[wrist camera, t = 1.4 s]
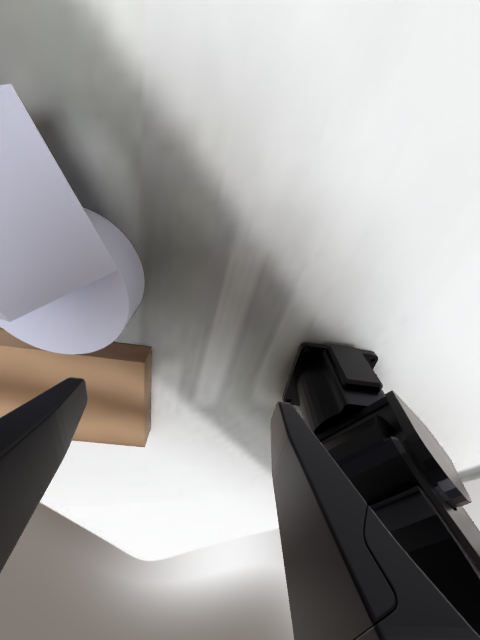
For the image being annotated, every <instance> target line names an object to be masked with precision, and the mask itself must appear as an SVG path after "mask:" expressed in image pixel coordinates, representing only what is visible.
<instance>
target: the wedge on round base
mask: <svg viewBox="0 0 480 640" xmlns="http://www.w3.org/2000/svg"><path fill="white" fill-rule="evenodd" d="M144 288H145V277H144V271H143V267H142V264H141V261H140V259H139V256H138V254H137V252H136V250H135V249H134V247H133V245H132V244H131V243H130V241H129V240H128V239H127V237H126V236H125V235H124V234H123V233H122V232H121V231H120V230H119V229H118V228H117V227H116V226H115V225H113V224H112V223H111V222H110V221H108V220H107V219H105V218H104V217H102V216H101V215H99V214H97V213H95V212H93V211H91V210H89V209H86V208H83V207H82V206H81V204H80V202H79V201H78V199H77V197H76V195H75V194H74V192H73V190H72V188H71V187H70V185H69V183H68V182H67V180H66V178H65V176H64V175H63V173H62V171H61V169H60V168H59V166H58V164H57V163H56V161H55V159H54V157H53V156H52V154H51V152H50V150H49V149H48V147H47V145H46V144H45V142H44V140H43V138H42V137H41V135H40V133H39V131H38V130H37V128H36V126H35V124H34V123H33V121H32V119H31V118H30V116H29V114H28V112H27V111H26V109H25V107H24V105H23V104H22V102H21V100H20V99H19V97H18V95H17V93H16V92H15V90H14V88H13V86H12V85H11V84H6V85H0V326H1V327H2V328H3V329H4V330H6V331H7V332H9V333H10V334H12V335H13V336H15V337H16V338H18V339H20V340H22V341H23V342H25V343H28V344H30V345H32V346H34V347H37V348H40V349H43V350H46V351H50V352H54V353H60V354H72V355H73V354H85V353H91V352H94V351H97V350H100V349H102V348H104V347H106V346H108V345H109V344H111V343H112V342H113V341H114V340H115V339H116V338H117V337H118V336H119V335H120V334H121V332H122V331H123V329H124V328H125V326H126V325H127V323H128V322H129V320H130V319H131V317H132V316H133V314H134V313H135V311H136V310H137V308H138V307H139V305H140V303H141V301H142V297H143V294H144Z"/></svg>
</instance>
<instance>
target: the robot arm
mask: <svg viewBox="0 0 480 640" xmlns="http://www.w3.org/2000/svg"><path fill="white" fill-rule="evenodd" d="M306 348H308V350H306V351H304V349H306ZM371 357H372V358H371ZM370 358H371V359H370ZM377 361H378V357H377V355H376V354H375V353H374V352H369V351H362V350H359V349H354V348H347V347H340V346H333V345H330V346H325V345H318V344H311V343H304V344H302V345H301V346H300V348H299V351H298V353H297V356H296V359H295V362H294V365H293V368H292V371H291V374H290V377H289V380H288V383H287V385H286V388H285V391H284V394H283V401H284V402H278V403H277V404H276V407H275V410H274V413H273V416H272V419H271V455H272V477H273V485H274V493H275V500H276V508H277V515H278V522H279V530H280V537H281V545H282V552H283V559H284V566H285V574H286V581H287V589H288V596H289V604H290V611H291V618H292V625H293V633H294V640H480V531H479V530H478V528H477V527H476V525H475V524H474V522H473V521H472V519H471V518H470V517H469V515H468V514H467V512H466V511H465V509H464V508H463V507H462V506H463V505H466V504H468V503H471V499H470V497H469V495H468V493H467V491H466V489H465V487H464V485H463V483H462V481H461V479H460V477H459V475H458V473H457V471H456V469H455V467H454V465H453V463H452V461H451V459H450V458H449V456H448V455H447V453H446V452H445V451H444V450H443V448H442V447H441V446H440V444H439V443H438V442H437V440H436V439H435V438H434V436H433V435H432V434H431V432H430V431H429V430H428V428H427V427H426V426H425V425H424V423H423V422H422V421H421V420H420V419H419V418H418V417H417V416H416V415H415V414H414V413H413V412H412V411H411V409H410V408H409V407H408V406H407V405H406V404H405V403H404V402H403V401H402V400H401V399H400V398H399V397H398V396H397V394H396V393H395V392H394V391H393V390H392V391H390V392H388V393H387V394H384V393H383V391H382V387H383V385H382V383H381V382H380V380H379V379H378V377H377V375H376V374H375V372H374V371H373V368H374V366H375V364H376V363H377ZM288 398H290V399H288ZM87 401H88V397H87V389H86V382H85V380H84V379H82V378H75V377H69V378H67V379H65V380H63V381H62V382H60V383H58V384H56V385H55V386H53V387H51V388H50V389H48V390H46V391H45V392H43V393H41V394H39V395H38V396H36V397H34V398H33V399H31V400H29V401H28V402H26V403H24V404H23V405H21V406H19V407H17V408H16V409H14V410H12V411H11V412H9V413H7V414H6V415H4V416H2V417H0V573H1V571H2V569H3V567H4V565H5V564H6V562H7V560H8V558H9V556H10V555H11V553H12V551H13V549H14V547H15V545H16V543H17V542H18V540H19V538H20V536H21V535H22V533H23V531H24V529H25V527H26V526H27V524H28V522H29V520H30V518H31V517H32V515H33V513H34V511H35V509H36V507H37V506H38V504H39V502H40V500H41V498H42V497H43V495H44V493H45V491H46V489H47V488H48V486H49V484H50V482H51V480H52V479H53V477H54V475H55V473H56V471H57V470H58V468H59V466H60V464H61V462H62V460H63V458H64V456H65V454H66V452H67V450H68V448H69V446H70V443H71V441H72V438H73V436H74V434H75V431H76V429H77V427H78V424H79V422H80V420H81V417H82V415H83V412H84V410H85V408H86V405H87ZM292 405H299V406H300V407H301V411H302V415H303V419H304V420H303V419H302V417H301V416H300V415H299V413H298V412H297V411H296V409H295V408H294V407H293V406H292Z"/></svg>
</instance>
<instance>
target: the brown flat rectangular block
mask: <svg viewBox="0 0 480 640" xmlns="http://www.w3.org/2000/svg"><path fill="white" fill-rule="evenodd" d="M151 348H152V347H146V346H138V345H130V344H123V343H115V342H112V343H111V344H109V345H108V346H106V347H104V348H102V349H100V350H97V351H94V352H91V353H85V354H73V355H72V354H60V353H54V352H50V351H46V350H43V349H40V348H37V347H34V346H32V345H30V344H28V343H25V342H23V341H22V340H20V339H18V338H16V337H15V336H13V335H12V334H10V333H9V332H7V331H6V330H4V329H3V328H0V417H2V416H4V415H6V414H7V413H9V412H11V411H12V410H14V409H16V408H17V407H19V406H21V405H23V404H24V403H26V402H28V401H29V400H31V399H33V398H34V397H36V396H38V395H39V394H41V393H43V392H45V391H46V390H48V389H50V388H51V387H53V386H55V385H56V384H58V383H60V382H62V381H63V380H65V379H67V378H69V377H75V378H82V379H84V380H85V382H86V389H87V397H88V401H87V405H86V408H85V410H84V412H83V415H82V417H81V420H80V422H79V424H78V427H77V429H76V431H75V434H74V436H73V438H72V440H73V441H84V442H95V443H105V444H116V445H126V446H137V447H145V444H146V441H147V438H148V435H149V432H150V418H151Z"/></svg>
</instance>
